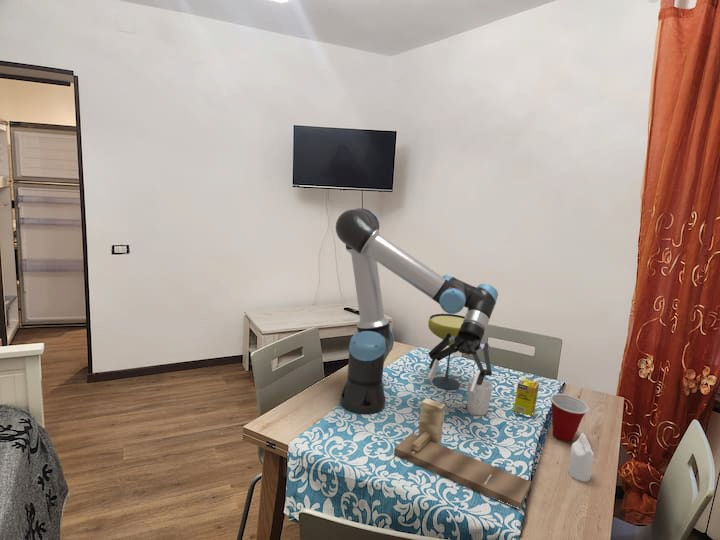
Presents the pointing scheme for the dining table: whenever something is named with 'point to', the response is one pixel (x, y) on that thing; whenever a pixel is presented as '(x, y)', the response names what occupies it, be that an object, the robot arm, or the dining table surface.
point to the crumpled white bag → (581, 459)
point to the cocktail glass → (441, 328)
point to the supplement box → (526, 396)
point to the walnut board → (466, 471)
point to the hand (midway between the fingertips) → (450, 386)
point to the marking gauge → (430, 423)
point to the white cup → (479, 397)
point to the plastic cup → (566, 416)
